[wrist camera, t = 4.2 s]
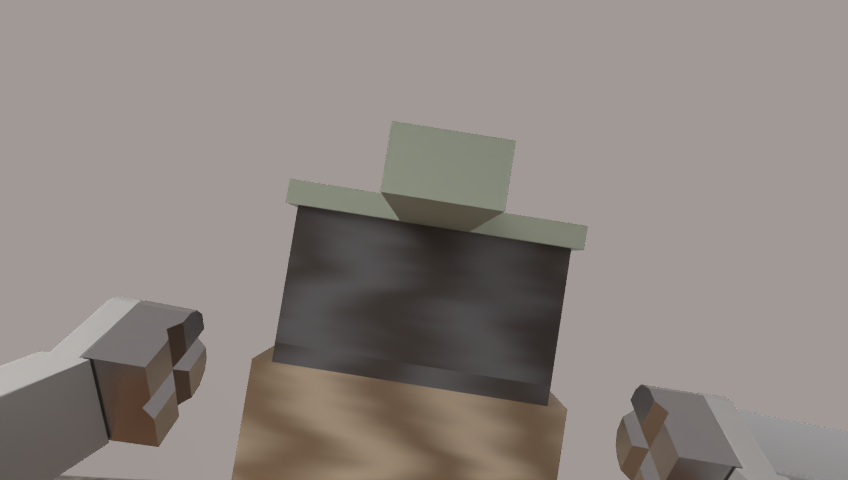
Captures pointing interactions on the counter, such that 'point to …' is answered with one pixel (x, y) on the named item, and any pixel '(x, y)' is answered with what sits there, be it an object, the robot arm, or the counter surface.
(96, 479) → the counter surface
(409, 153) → the lid
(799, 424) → the supplement box
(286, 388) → the tub stand
